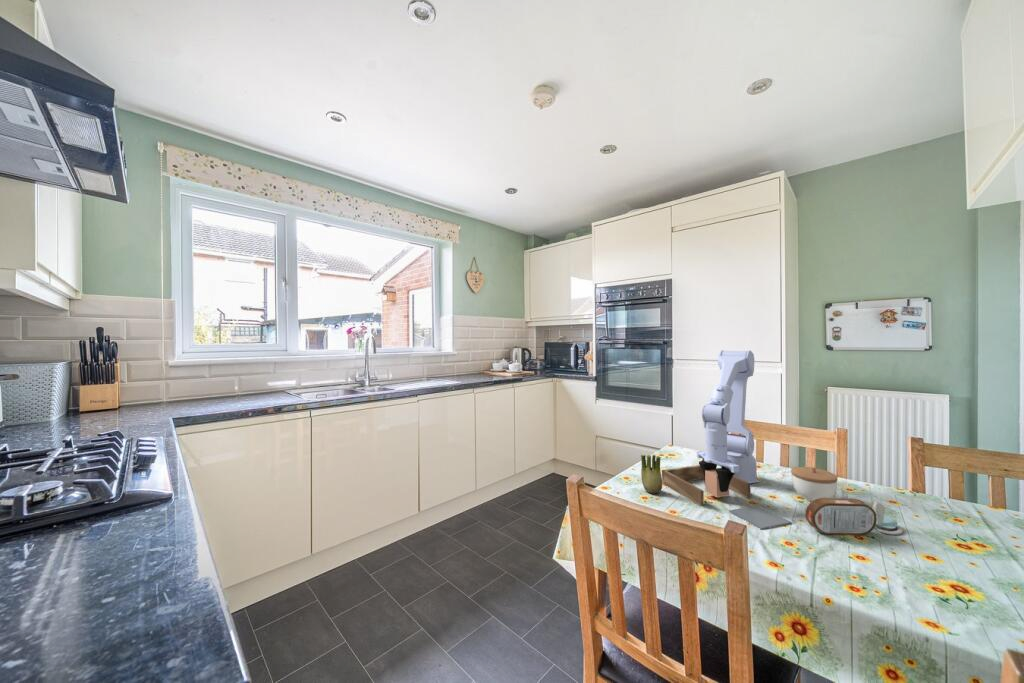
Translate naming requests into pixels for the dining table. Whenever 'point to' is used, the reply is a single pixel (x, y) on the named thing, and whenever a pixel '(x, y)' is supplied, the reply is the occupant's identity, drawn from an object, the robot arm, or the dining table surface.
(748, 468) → the robot arm
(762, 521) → the mat
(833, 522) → the tin
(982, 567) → the dining table surface
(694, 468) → the open frame
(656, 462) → the fennel bulb
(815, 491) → the lidded jar
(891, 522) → the pacifier
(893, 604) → the dining table surface
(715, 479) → the block
